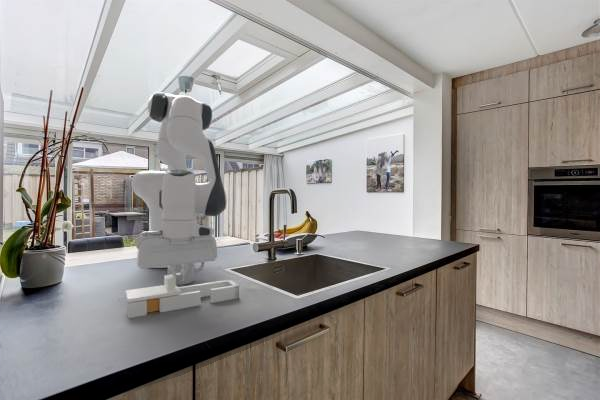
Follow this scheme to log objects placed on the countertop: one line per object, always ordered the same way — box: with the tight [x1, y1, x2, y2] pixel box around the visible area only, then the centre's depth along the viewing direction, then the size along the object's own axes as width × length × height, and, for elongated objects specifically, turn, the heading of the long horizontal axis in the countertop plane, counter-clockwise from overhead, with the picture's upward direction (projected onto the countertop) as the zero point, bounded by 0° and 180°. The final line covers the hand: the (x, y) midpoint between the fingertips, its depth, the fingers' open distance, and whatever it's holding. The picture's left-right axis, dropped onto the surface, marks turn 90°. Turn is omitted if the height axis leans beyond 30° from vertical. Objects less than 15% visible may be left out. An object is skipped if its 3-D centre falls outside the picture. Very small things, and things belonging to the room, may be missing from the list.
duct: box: [127, 279, 240, 319], centre depth 84 cm, size 7×28×4 cm, turn 123°
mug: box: [167, 262, 205, 286], centre depth 105 cm, size 12×8×11 cm
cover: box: [125, 274, 181, 303], centre depth 79 cm, size 8×12×4 cm, turn 123°
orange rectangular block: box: [147, 298, 159, 313], centre depth 79 cm, size 3×9×3 cm, turn 123°
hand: (178, 280), depth 83 cm, fingers closed
